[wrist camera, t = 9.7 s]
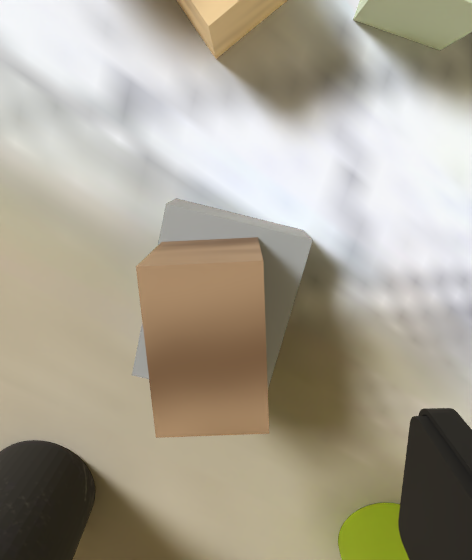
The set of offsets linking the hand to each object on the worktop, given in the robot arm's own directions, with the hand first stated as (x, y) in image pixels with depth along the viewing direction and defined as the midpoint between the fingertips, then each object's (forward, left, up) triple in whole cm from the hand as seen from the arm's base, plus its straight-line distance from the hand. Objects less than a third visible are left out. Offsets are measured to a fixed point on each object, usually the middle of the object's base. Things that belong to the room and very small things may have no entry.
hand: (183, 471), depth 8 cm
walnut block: (+1, 0, -12) cm, 12 cm away
